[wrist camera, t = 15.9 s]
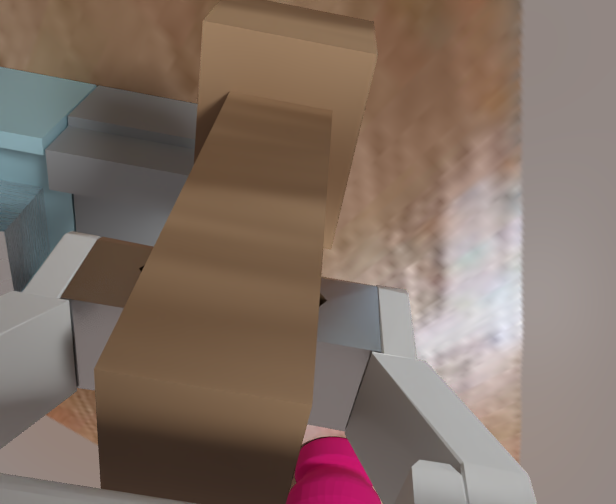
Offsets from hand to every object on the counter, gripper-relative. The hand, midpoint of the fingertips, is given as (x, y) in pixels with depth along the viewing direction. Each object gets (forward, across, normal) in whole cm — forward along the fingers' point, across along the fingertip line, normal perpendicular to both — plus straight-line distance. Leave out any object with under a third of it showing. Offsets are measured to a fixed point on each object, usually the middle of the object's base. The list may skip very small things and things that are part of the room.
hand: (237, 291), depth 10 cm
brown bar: (+9, 0, 0) cm, 9 cm away
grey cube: (+17, +14, +12) cm, 25 cm away
